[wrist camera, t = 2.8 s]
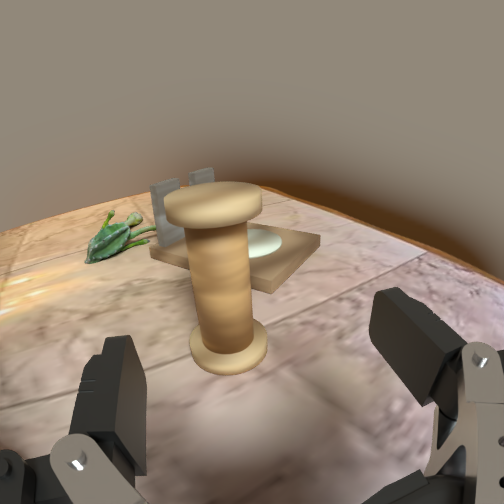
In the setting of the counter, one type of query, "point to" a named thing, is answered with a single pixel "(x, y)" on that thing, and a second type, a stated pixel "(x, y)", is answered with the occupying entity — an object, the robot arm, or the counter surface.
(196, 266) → the bobbin
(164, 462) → the counter surface
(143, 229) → the plant
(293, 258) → the board
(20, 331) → the counter surface
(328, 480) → the counter surface
